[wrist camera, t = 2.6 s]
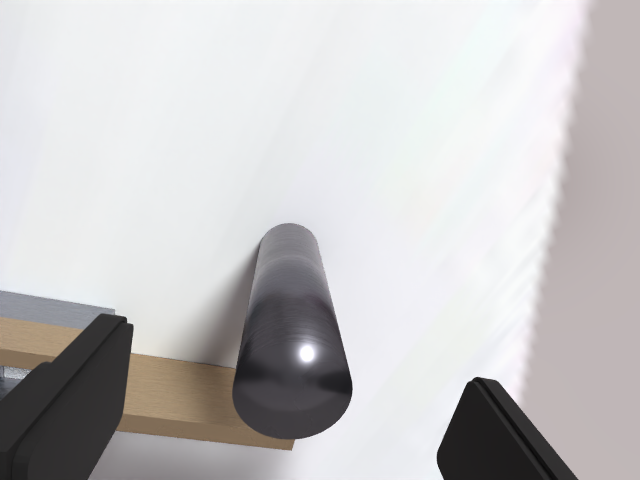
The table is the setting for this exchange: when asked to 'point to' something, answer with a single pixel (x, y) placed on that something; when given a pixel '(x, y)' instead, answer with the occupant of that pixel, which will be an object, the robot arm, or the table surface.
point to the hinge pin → (291, 342)
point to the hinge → (130, 375)
